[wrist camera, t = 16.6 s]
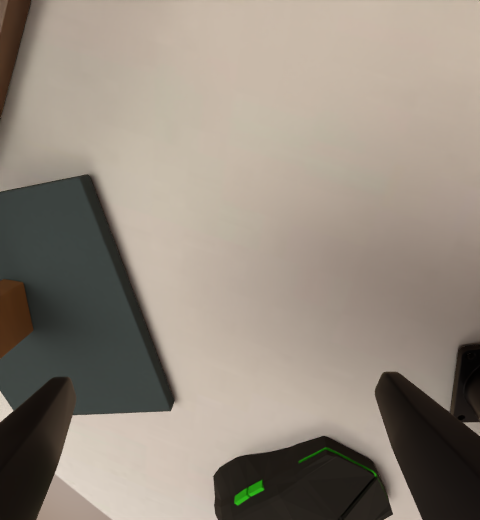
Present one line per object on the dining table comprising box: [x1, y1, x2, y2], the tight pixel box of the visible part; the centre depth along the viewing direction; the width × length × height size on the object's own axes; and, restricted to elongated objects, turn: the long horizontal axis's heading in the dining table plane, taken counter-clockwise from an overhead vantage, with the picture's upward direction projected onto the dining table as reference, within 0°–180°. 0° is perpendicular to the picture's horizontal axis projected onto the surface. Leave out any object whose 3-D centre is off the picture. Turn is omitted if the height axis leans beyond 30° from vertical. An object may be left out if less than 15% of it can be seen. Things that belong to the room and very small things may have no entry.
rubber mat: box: [0, 175, 174, 415], centre depth 21 cm, size 18×14×1 cm
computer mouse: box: [214, 436, 393, 520], centre depth 25 cm, size 11×16×4 cm
